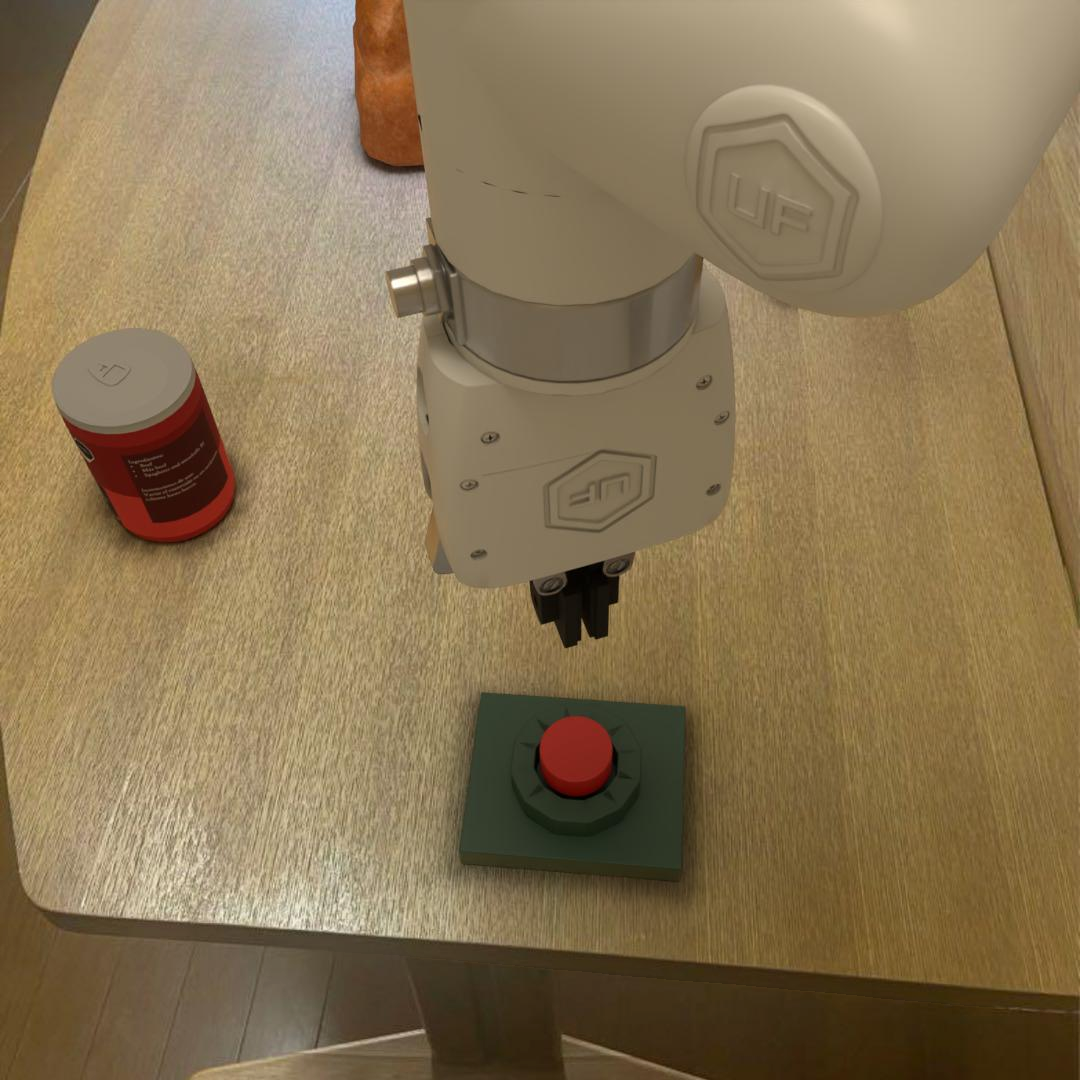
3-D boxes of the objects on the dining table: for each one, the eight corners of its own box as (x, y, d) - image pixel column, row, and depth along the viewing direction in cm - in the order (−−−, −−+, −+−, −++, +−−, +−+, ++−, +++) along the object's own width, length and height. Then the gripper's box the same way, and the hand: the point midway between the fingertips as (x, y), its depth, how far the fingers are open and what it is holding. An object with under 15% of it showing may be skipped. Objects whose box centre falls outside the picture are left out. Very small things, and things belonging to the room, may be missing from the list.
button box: (683, 720, 65) (688, 689, 62) (679, 881, 59) (684, 855, 57) (483, 706, 66) (478, 675, 63) (461, 864, 60) (455, 837, 57)
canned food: (141, 443, 78) (84, 318, 69) (256, 460, 77) (214, 335, 68) (92, 536, 73) (24, 415, 64) (213, 555, 72) (162, 435, 63)
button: (614, 734, 61) (614, 718, 59) (609, 799, 59) (610, 784, 57) (543, 729, 61) (542, 713, 60) (537, 794, 59) (536, 779, 58)
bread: (359, 81, 101) (327, -106, 89) (666, 52, 103) (677, -136, 90) (363, 182, 93) (329, -8, 81) (696, 150, 94) (713, -42, 82)
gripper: (338, 424, 31) (418, 747, 45) (871, 289, 33) (782, 637, 48) (284, 243, 35) (374, 592, 50) (759, 135, 37) (709, 498, 52)
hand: (574, 613), depth 49 cm, fingers closed
